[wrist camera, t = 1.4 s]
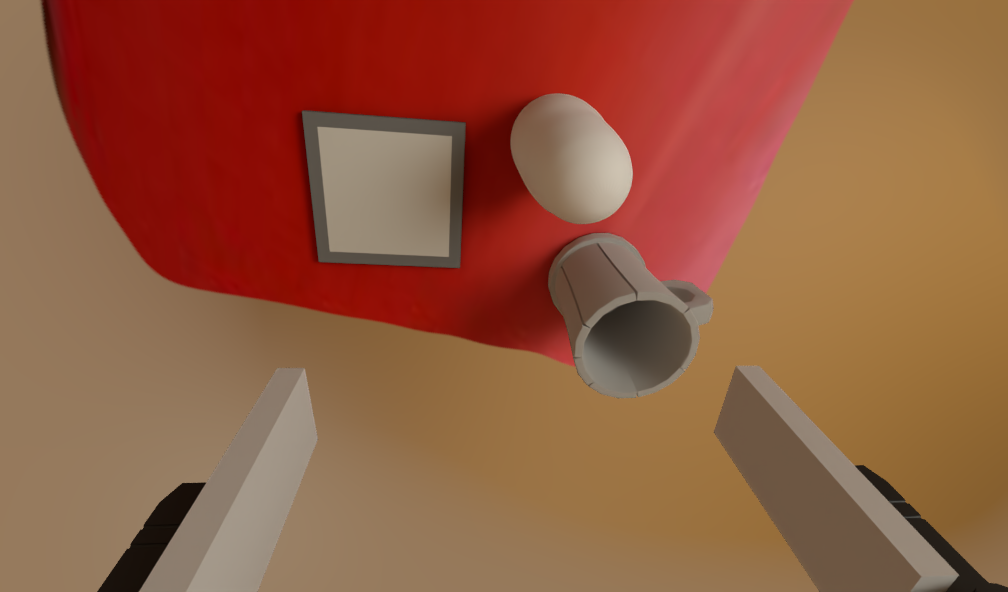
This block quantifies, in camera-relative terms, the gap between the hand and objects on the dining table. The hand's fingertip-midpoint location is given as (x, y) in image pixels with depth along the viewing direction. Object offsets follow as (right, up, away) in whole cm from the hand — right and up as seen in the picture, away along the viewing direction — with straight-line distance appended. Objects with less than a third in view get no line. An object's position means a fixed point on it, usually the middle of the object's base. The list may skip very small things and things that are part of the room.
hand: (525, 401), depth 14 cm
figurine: (+3, +16, +23) cm, 28 cm away
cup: (+8, +6, +28) cm, 30 cm away
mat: (-10, +12, +23) cm, 28 cm away
